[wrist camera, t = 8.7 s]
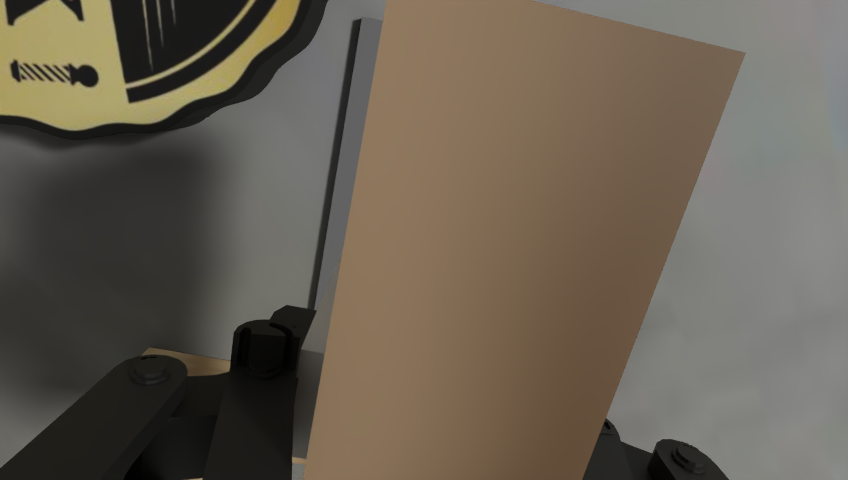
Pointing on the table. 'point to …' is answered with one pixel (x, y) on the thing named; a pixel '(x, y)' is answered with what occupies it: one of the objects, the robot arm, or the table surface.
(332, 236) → the mat
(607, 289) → the brown wooden block
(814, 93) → the table surface
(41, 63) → the sign
